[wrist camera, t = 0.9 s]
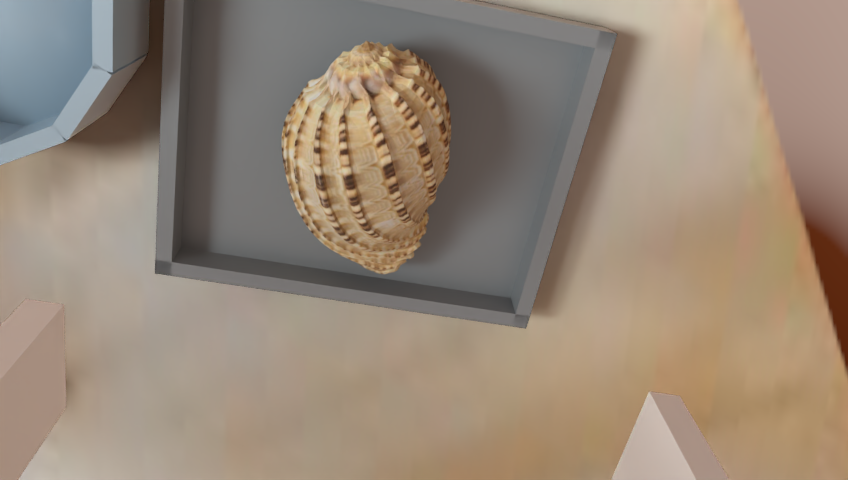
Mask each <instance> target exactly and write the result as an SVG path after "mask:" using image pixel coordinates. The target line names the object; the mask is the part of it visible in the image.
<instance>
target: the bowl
mask: <svg viewBox="0 0 848 480" xmlns="http://www.w3.org/2000/svg"><path fill="white" fill-rule="evenodd" d="M149 9H150V0H0V165H2V164H5V163H8V162H11V161H13V160H16V159H19V158H22V157H24V156H27V155H30V154H33V153H36V152H38V151H41V150H44V149H47V148H49V147H52V146H55V145H58V144H60V143H63V142H66V141H67V140H68V139H70V138H71V137H73V136H74V135H76V134H77V133H79V132H80V131H81V130H83V129H84V128H86V127H87V126H89V125H90V124H92V123H93V122H94V121H96V120H97V119H99V118H100V117H102V116H103V115H105V114H106V113H107V112H108V111H109V110H110V108H111V107H112V105H113V104H114V102H115V101H116V99H117V98H118V97H119V95H120V94H121V92H122V91H123V89H124V88H125V87H126V85H127V84H128V82H129V81H130V79H131V78H132V76H133V75H134V74H135V72H136V71H137V69H138V68H139V66H140V65H141V64H142V62H143V61H144V59H145V58H146V56H147V54H146V53H148V47H149Z"/></svg>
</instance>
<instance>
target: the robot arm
mask: <svg viewBox="0 0 848 480" xmlns="http://www.w3.org/2000/svg"><path fill="white" fill-rule="evenodd" d="M65 408H66V367H65V319H64V304H58V303H51V302H45V301H38V300H31V299H25V300H24V301H23V302H22V303H21V304H20V305H19V307H18V308H17V309H16V310H15V311H14V312H13V313H12V314H11V315H10V316H9V317H8V318H7V319H6V320H5V321H4V322H3V323H2V324H1V325H0V480H18V479H19V477H20V476H21V474H22V473H23V471H24V470H25V468H26V467H27V465H28V464H29V462H30V461H31V459H32V458H33V456H34V455H35V453H36V452H37V450H38V449H39V447H40V446H41V444H42V443H43V441H44V440H45V438H46V437H47V435H48V434H49V432H50V431H51V429H52V428H53V426H54V425H55V423H56V422H57V420H58V419H59V417H60V416H61V414H62V413H63V411H64V410H65ZM612 480H729V478H728V477H727V475H726V473H725V472H724V470H723V468H722V467H721V465H720V463H719V461H718V460H717V458H716V456H715V455H714V453H713V451H712V450H711V448H710V446H709V445H708V443H707V441H706V439H705V438H704V436H703V434H702V433H701V431H700V429H699V428H698V426H697V424H696V423H695V421H694V419H693V418H692V416H691V414H690V412H689V411H688V409H687V407H686V406H685V404H684V402H683V401H682V399H681V397H680V396H677V395H670V394H664V393H657V392H650V391H649V393H648V395H647V398H646V400H645V402H644V405H643V407H642V409H641V411H640V414H639V416H638V418H637V421H636V423H635V425H634V428H633V430H632V432H631V435H630V437H629V439H628V442H627V444H626V446H625V449H624V451H623V453H622V456H621V458H620V460H619V463H618V465H617V467H616V470H615V472H614V474H613V477H612Z"/></svg>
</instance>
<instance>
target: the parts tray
mask: <svg viewBox="0 0 848 480" xmlns="http://www.w3.org/2000/svg"><path fill="white" fill-rule="evenodd" d="M616 36H617V34H616V33H615V32H613V31H611V30H609V29H607V28H605V27H601V26H597V25H592V24H587V23H582V22H577V21H573V20H568V19H563V18H558V17H553V16H548V15H544V14H539V13H534V12H529V11H524V10H520V9H515V8H510V7H505V6H500V5H496V4H491V3H486V2H481V1H476V0H165V4H164V32H163V61H162V89H161V118H160V146H159V175H158V203H157V231H156V260H155V273H156V274H163V275H170V276H176V277H183V278H190V279H196V280H203V281H210V282H217V283H223V284H230V285H237V286H244V287H250V288H257V289H264V290H270V291H277V292H284V293H291V294H297V295H304V296H311V297H318V298H324V299H331V300H338V301H344V302H351V303H358V304H365V305H371V306H378V307H385V308H392V309H398V310H405V311H412V312H419V313H425V314H432V315H439V316H445V317H452V318H459V319H466V320H472V321H479V322H486V323H493V324H499V325H506V326H513V327H519V328H526V327H527V324H528V321H529V317H530V314H531V311H532V308H533V304H534V301H535V298H536V295H537V291H538V288H539V285H540V282H541V279H542V275H543V272H544V269H545V266H546V262H547V259H548V256H549V253H550V249H551V246H552V243H553V240H554V237H555V233H556V230H557V227H558V224H559V220H560V217H561V214H562V211H563V207H564V204H565V201H566V198H567V195H568V191H569V188H570V185H571V182H572V178H573V175H574V172H575V169H576V165H577V162H578V159H579V156H580V153H581V149H582V146H583V143H584V140H585V136H586V133H587V130H588V127H589V123H590V120H591V117H592V114H593V111H594V107H595V104H596V101H597V98H598V94H599V91H600V88H601V85H602V81H603V78H604V75H605V72H606V69H607V65H608V62H609V59H610V56H611V52H612V49H613V46H614V43H615V39H616ZM365 41H368V42H371V41H372V42H373V43H375V44H376V43H378V42H380V43H381V44H382V45H383V46H387V45H389V44H391V43H392V44H393V46H394V47H395V48H396V49H398V50H400V51H406V50H407V49H409V50H410V51H411V52H413V53H415V54H416V55H417V56H418V57H419V58H420V59H423V60H424V61H426V62H427V63H428V64H429V65H430V66H431V68H432V70H433V72H434V74H435V76H436V79H437V80H438V81H439V82H440V83H441V85H442V87H443V89H444V91H445V94H446V97H447V100H448V103H449V109H450V116H451V140H450V146H449V150H450V152H449V167H448V171H447V173H446V175H445V177H444V179H443V181H442V182H441V183H440V184H439V186H438V188H437V191H436V199H435V201H434V202H433V204H431V205H430V206H429V207H428V210H427V213H428V214H429V220H428V223H427V225H426V226H425V227H426V228H427V229H426V233H425V234H424V235H423V236H422V237H421V239H420V240H419V241H420V243H421V246H420V247H419V248H417V249H416V250H415V251H414V257H413V258H411V259H406V261H407V262H405V263H404V264H402V265H400V267H399V269H398V270H397V271H395V272H392V273H388V274H378V273H375V272H373V271H371V270H368V269H366V268H364V267H362V266H361V265H359V264H358V263H356V262H354V261H352V260H349V259H347V258H345V257H343V256H341V255H340V254H338V253H336V252H334V251H333V250H331V249H329V248H328V247H327V246H325V245H324V244H323V243H321V242H320V241H319V240H318V239H317V238H316V237H315V235H314V234H313V233H312V232H311V231H310V230H309V228H308V227H307V226H306V224H305V222H304V221H303V219H302V217H301V215H300V214H299V212H298V210H297V209H296V206H295V203H294V201H293V198H292V196H291V193H290V190H289V186H288V182H287V178H286V174H285V169H284V164H283V157H282V131H283V125H284V121H285V119H286V117H287V114H288V112H289V110H290V109H291V107H292V105H293V104H294V102H295V101H296V99H297V98H298V96H299V95H300V94H301V92H302V90H303V89H304V88H305V87H306V85H307V83H308V82H309V81H310V80H313V79H318V78H320V77H321V76H323V75H324V74H325V73H326V71H327V70H328V68H329V66H330V65H331V63H333V62H334V61H335V60H336V59H337V58H338V57H339V56H340V55H341V54H342V52H343V51H344V52H349V51H351V50H352V49H353V48H354V47H355V46H357V45H361V44H363V43H364V42H365Z"/></svg>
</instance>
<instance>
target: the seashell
mask: <svg viewBox="0 0 848 480" xmlns="http://www.w3.org/2000/svg"><path fill="white" fill-rule="evenodd" d="M450 140H451V116H450V109H449V103H448V100H447V97H446V94H445V91H444V89H443V87H442V85H441V83H440V82H439V81H438V80H437V79H436V76H435V74H434V72H433V70H432V68H431V66H430V65H429V64H428V63H427V62H426V61H424V60H423V59H420V58H419V57H418V56H417V55H416V54H415V53H413V52H411V51H410V50H409V49H407V50H406V51H400V50H398V49H396V48H395V47H394V46H393V44H392V43H391V44H389V45H387V46H383V45H382V44H381V43H380V42H378V43H376V44H375V43H373V42H372V41H371V42H368V41H365V42H364V43H363V44H361V45H357V46H355V47H354V48H353V49H352V50H351V51H349V52H344V51H343V52H342V54H341V55H340V56H339V57H338V58H337V59H336V60H335V61H334V62H333V63H331V65H330V66H329V68H328V70H327V71H326V73H325V74H324V75H323V76H321V77H320V78H318V79H313V80H310V81H309V82H308V83H307V85H306V87H305V88H304V89H303V90H302V92H301V94H300V95H299V96H298V98H297V99H296V101H295V102H294V104H293V105H292V107H291V109H290V110H289V112H288V114H287V117H286V119H285V121H284V125H283V131H282V157H283V164H284V169H285V174H286V178H287V182H288V186H289V190H290V193H291V196H292V198H293V201H294V203H295V206H296V209H297V210H298V212H299V214H300V215H301V217H302V219H303V221H304V222H305V224H306V226H307V227H308V228H309V230H310V231H311V232H312V233H313V234H314V235H315V237H316V238H317V239H318V240H319V241H320V242H321V243H323V244H324V245H325V246H327V247H328V248H329V249H331V250H333V251H334V252H336V253H338V254H340V255H341V256H343V257H345V258H347V259H349V260H352V261H354V262H356V263H358V264H359V265H361V266H362V267H364V268H366V269H368V270H371V271H373V272H375V273H378V274H388V273H392V272H395V271H397V270H398V269H399V267H400V265H402V264H404V263H405V262H407V261H406V259H411V258H413V257H414V251H415V250H416V249H417V248H419V247H420V246H421V243H420V241H419V240H420V239H421V237H422V236H423V235H424V234H425V233H426V229H427V228H426V227H425V226H426V225H427V223H428V220H429V214H428V213H427V210H428V207H429V206H430V205H431V204H433V202H434V201H435V199H436V191H437V188H438V186H439V184H440V183H441V182H442V181H443V179H444V177H445V175H446V173H447V171H448V167H449V152H450V150H449V146H450Z"/></svg>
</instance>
